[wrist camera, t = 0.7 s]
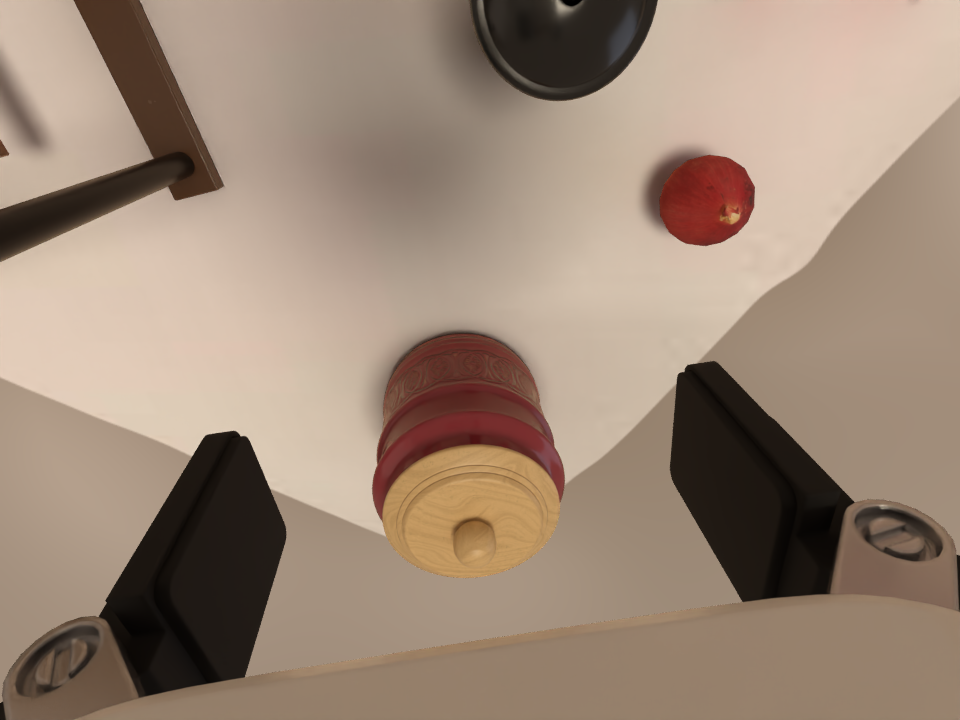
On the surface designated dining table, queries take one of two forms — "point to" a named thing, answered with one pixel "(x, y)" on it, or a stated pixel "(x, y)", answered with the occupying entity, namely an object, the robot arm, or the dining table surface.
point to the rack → (158, 116)
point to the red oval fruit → (707, 200)
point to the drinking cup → (561, 42)
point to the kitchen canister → (466, 460)
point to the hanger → (3, 150)
